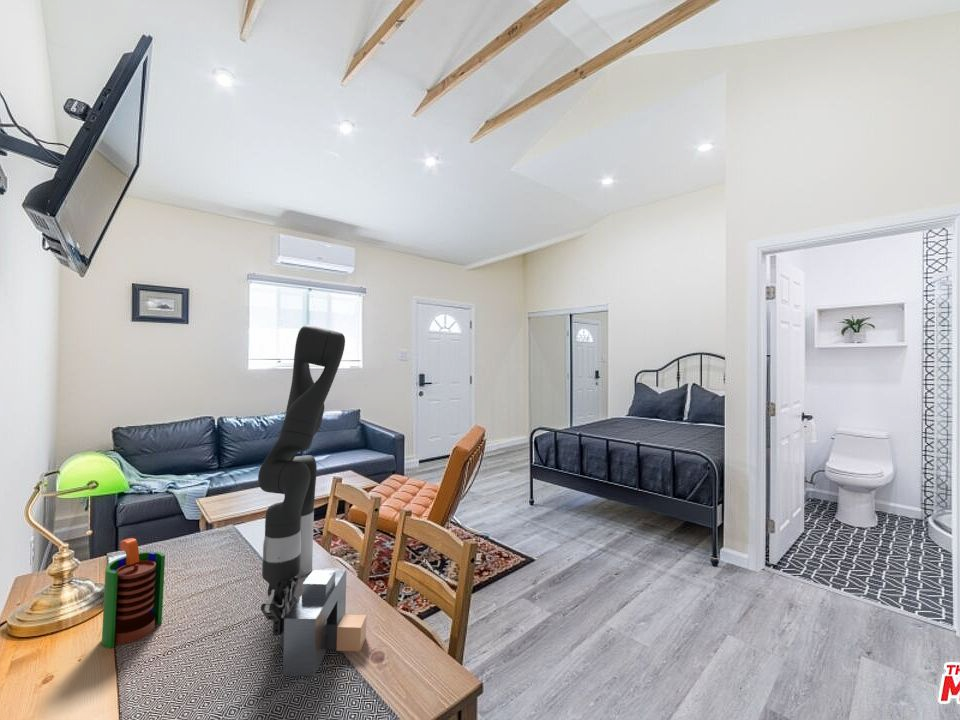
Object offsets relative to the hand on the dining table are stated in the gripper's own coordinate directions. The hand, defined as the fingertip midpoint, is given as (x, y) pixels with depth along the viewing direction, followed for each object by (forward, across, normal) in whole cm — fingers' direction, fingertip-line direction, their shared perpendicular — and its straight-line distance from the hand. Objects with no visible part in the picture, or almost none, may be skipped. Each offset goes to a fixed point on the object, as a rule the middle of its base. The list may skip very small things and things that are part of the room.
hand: (279, 632), depth 90 cm
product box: (+2, +21, +52) cm, 56 cm away
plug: (+2, 0, -10) cm, 10 cm away
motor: (+2, +2, +34) cm, 34 cm away
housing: (+2, 0, -8) cm, 8 cm away
